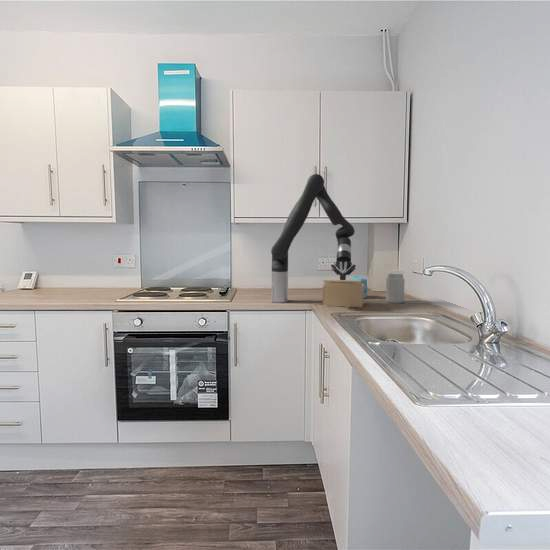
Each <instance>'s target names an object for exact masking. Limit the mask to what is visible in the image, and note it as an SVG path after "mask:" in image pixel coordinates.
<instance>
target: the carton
mask: <svg viewBox="0 0 550 550" xmlns="http://www.w3.org/2000/svg"><path fill="white" fill-rule="evenodd" d="M362 295H363V298H362ZM364 299H365V298H364V284H363V283H361V286H345V285H325V283H324V282H323V285H322V304H323V306H324V305H328V306H327V307H339V306H345V308H363V306H364V301H365V300H364Z"/></svg>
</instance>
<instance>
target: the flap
mask: <svg viewBox="0 0 550 550" xmlns="http://www.w3.org/2000/svg"><path fill="white" fill-rule="evenodd" d="M322 281H323V284H324V283H325V285H345V286H361V280H350V279H346V280H340V279H323V280H322Z"/></svg>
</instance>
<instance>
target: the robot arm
mask: <svg viewBox="0 0 550 550" xmlns="http://www.w3.org/2000/svg"><path fill="white" fill-rule="evenodd" d="M315 199H317V200H318V202H319V203H320V205H321V207H322V209H323V210H324V212H325V214H326V216H327V218H328V219H329V221H330V222H331V225H333V226H338V225H340V226H341V227H339V228H337V230H336V231H335V237H336V240H337V249H336V259H335V260H336V261H335V263H334V264H331V265H330V267H331V270H332V271H333V272H334V273H335V274H336V275H339V280H347V276H349V275H351V274H352V273H353V272H354V271H355V270H356V269H357V268H356V264H353V263H352V241H351V239H350V238H351V237H353V236H354V234H355V232H356V231H355V227H354V226H353V225H352V224H351V222H349V221H348V220H347V219H346V217H344V216H343V215H342V213H341V211H340V210H339V207H338V206H337V205H336V204H335V202H334V201H333V199H332V198H331V197H330V195H329V193H328V191H327V189H326V186H325V179H324V178H323V176H322V175H321V174H318V173H317V174H316V173H315V174H312V175H310V176H309V177H308V179H307V182H306V184H305V187H304V189H303V191H302V194H301V195H300V197H299V199H298V201H297V202H296V203H295V205H294V206H293V208H292V210H291V212H290V213H289V215H288V217H287V219H286V222H285V223H284V227H283V229H282V232H281V234H280V235H279V237H278V239H276V241H275V243H274V244H273V246H272V248H271V251H270V252H271V302H272V303H287V302H288V301H289V250H290V247H291V245H292V243H293V241H294V239H295V237H296V236H297V235H298V233H299V232H300V230H301V229H302V227H303V226H304V224H305V222H306V221H307V218H308V216H309V214H310V212H311V209H312V205H313V203H314V201H315Z"/></svg>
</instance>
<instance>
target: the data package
mask: <svg viewBox="0 0 550 550" xmlns="http://www.w3.org/2000/svg"><path fill="white" fill-rule="evenodd" d="M349 280H361V283H363V284H364V299H366V298H367V297H368V295H367V294H368V279H367V278H365V277H360V276H351V277H350V278H349ZM362 299H363V295H362Z"/></svg>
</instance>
